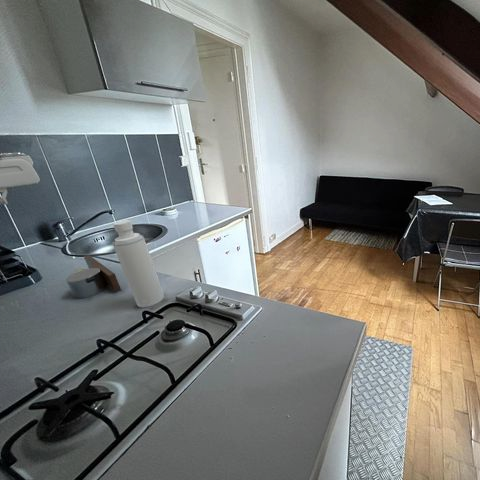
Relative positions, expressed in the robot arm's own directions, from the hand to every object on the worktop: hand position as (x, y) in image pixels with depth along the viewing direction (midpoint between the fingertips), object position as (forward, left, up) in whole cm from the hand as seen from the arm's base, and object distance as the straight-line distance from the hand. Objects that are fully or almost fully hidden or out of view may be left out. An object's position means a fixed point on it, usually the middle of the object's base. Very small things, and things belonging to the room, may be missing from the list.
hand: (0, 204), depth 75 cm
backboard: (+12, -15, -27) cm, 33 cm away
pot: (+8, -20, -27) cm, 34 cm away
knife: (+9, -7, -27) cm, 30 cm away
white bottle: (+16, -42, -27) cm, 53 cm away
